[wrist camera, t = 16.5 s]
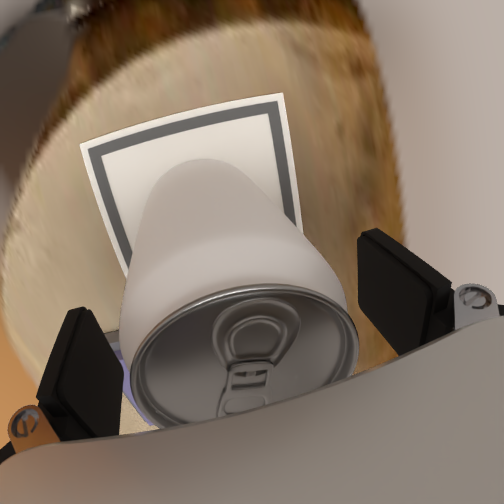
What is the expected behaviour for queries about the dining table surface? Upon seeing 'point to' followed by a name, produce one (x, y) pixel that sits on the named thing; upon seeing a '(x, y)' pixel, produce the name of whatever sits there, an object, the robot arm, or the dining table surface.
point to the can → (227, 302)
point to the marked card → (190, 159)
